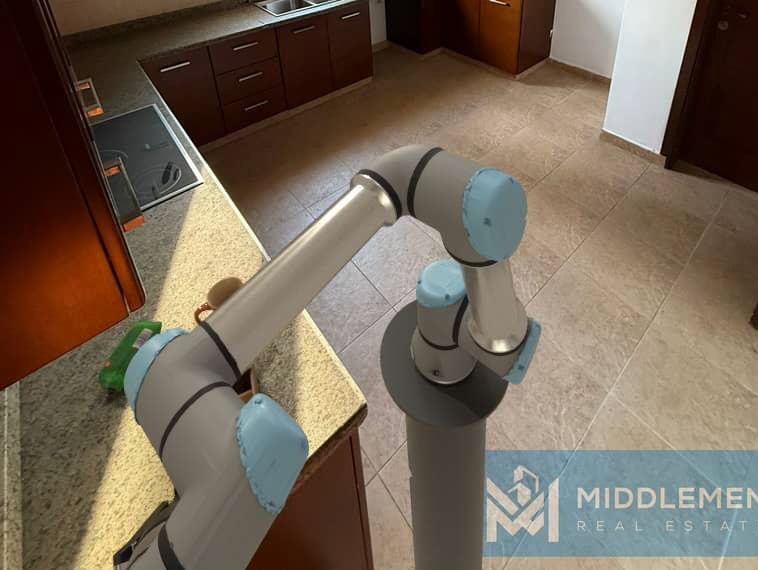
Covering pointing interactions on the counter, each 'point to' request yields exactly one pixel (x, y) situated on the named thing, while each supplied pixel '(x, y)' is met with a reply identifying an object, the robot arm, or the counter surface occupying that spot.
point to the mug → (218, 295)
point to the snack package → (126, 353)
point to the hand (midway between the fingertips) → (199, 477)
